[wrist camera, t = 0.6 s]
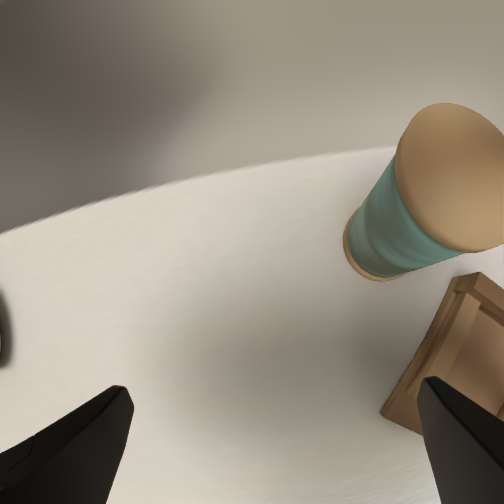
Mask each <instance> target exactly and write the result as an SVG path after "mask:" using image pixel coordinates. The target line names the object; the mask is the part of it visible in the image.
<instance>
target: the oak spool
mask: <svg viewBox="0 0 504 504" xmlns="http://www.w3.org/2000/svg"><path fill="white" fill-rule="evenodd" d="M501 244H504V136H503V134H502V133H501V132H500V131H499V130H498V129H497V128H496V127H495V126H494V125H493V124H492V123H491V122H490V121H489V120H487V119H486V118H484V117H483V116H482V115H480V114H479V113H477V112H475V111H473V110H471V109H469V108H467V107H464V106H461V105H457V104H451V103H439V104H433V105H430V106H428V107H426V108H424V109H422V110H421V111H419V112H418V113H417V114H416V115H415V116H414V117H413V118H412V120H411V122H410V123H409V125H408V127H407V128H406V130H405V132H404V133H403V135H402V137H401V138H400V141H399V143H398V146H397V150H396V154H395V155H394V157H393V159H392V160H391V162H390V163H389V165H388V166H387V168H386V169H385V171H384V173H383V174H382V176H381V177H380V179H379V180H378V182H377V183H376V185H375V186H374V188H373V189H372V191H371V192H370V194H369V195H368V197H367V198H366V200H365V201H364V203H363V204H362V206H361V207H360V208H359V209H357V210H356V211H355V213H354V214H353V215H352V216H351V218H350V219H349V221H348V223H347V225H346V227H345V230H344V235H343V247H344V252H345V255H346V257H347V260H348V261H349V263H350V265H351V266H352V267H353V268H354V269H355V270H356V271H357V272H358V273H359V274H360V275H362V276H364V277H365V278H368V279H370V280H374V281H388V280H392V279H395V278H398V277H400V276H402V275H404V274H405V273H407V272H410V271H413V270H416V269H419V268H423V267H426V266H429V265H432V264H435V263H438V262H441V261H444V260H447V259H450V258H453V257H455V256H458V255H461V254H464V253H477V252H482V251H485V250H488V249H491V248H494V247H497V246H499V245H501Z"/></svg>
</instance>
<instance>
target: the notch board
mask: <svg viewBox="0 0 504 504" xmlns="http://www.w3.org/2000/svg"><path fill="white" fill-rule="evenodd" d="M429 376H437V377H439V378H440V379H442V380H443V381H445V382H446V383H448V384H449V385H451V386H452V387H454V388H455V389H456V390H458V391H459V392H461V393H462V394H464V395H465V396H467V397H468V398H470V399H471V400H473V401H474V402H476V403H477V404H479V405H480V406H481V407H483V408H484V409H486V410H487V411H489V412H490V413H492V414H493V415H495V416H496V417H498V418H499V419H501V420H502V421H504V290H503V289H502V288H501V287H500V286H498V285H497V284H496V283H494V282H493V281H492V280H491V279H489V278H488V277H487V276H485V275H484V274H483V273H481V272H476V273H472V274H467V275H463V276H458V277H454V278H452V281H451V283H450V285H449V288H448V290H447V292H446V295H445V297H444V299H443V301H442V303H441V305H440V308H439V310H438V312H437V314H436V316H435V318H434V320H433V322H432V324H431V326H430V328H429V330H428V332H427V334H426V336H425V338H424V340H423V342H422V343H421V345H420V347H419V349H418V351H417V353H416V355H415V356H414V358H413V360H412V362H411V363H410V365H409V367H408V369H407V370H406V372H405V374H404V375H403V377H402V379H401V380H400V382H399V384H398V385H397V387H396V388H395V390H394V392H393V393H392V395H391V396H390V398H389V399H388V401H387V402H386V404H385V405H384V407H383V408H382V410H381V411H380V414H381V415H382V416H383V417H384V418H386V419H388V420H390V421H392V422H395V423H397V424H399V425H401V426H403V427H405V428H407V429H409V430H411V431H414V432H416V433H418V434H420V435H422V436H423V432H422V427H421V422H420V417H419V412H418V407H417V395H418V392H419V388H420V385H421V381H422V379H423V378H425V377H429Z"/></svg>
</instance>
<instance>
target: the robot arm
mask: <svg viewBox="0 0 504 504" xmlns="http://www.w3.org/2000/svg"><path fill="white" fill-rule="evenodd" d="M417 407H418V412H419V417H420V422H421V427H422V432H423V437H424V442H425V446H426V450H427V453H428V457H429V460H430V463H431V467H432V470H433V474H434V477H435V481H436V485H437V488H438V492H439V496H440V500H441V504H504V421H502V420H501V419H499V418H498V417H496V416H495V415H493V414H492V413H490V412H489V411H487V410H486V409H484V408H483V407H481V406H480V405H479V404H477V403H476V402H474V401H473V400H471V399H470V398H468V397H467V396H465V395H464V394H462V393H461V392H459V391H458V390H456V389H455V388H454V387H452V386H451V385H449V384H448V383H446V382H445V381H443V380H442V379H440V378H439V377H437V376H429V377H425V378H423V379H422V381H421V385H420V388H419V392H418V395H417ZM133 413H134V404H133V402H132V399H131V397H130V395H129V392H128V390H127V388H126V387H124V386H119V385H113V386H111V387H110V388H108V389H106V390H105V391H103V392H102V393H100V394H99V395H97V396H96V397H94V398H92V399H91V400H89V401H88V402H86V403H85V404H83V405H81V406H80V407H78V408H77V409H75V410H74V411H72V412H70V413H69V414H67V415H66V416H64V417H62V418H61V419H59V420H57V421H56V422H54V423H53V424H51V425H49V426H48V427H46V428H44V429H43V430H41V431H40V432H38V433H36V434H35V435H34V436H31V437H30V438H28V439H26V440H25V441H23V442H21V443H19V444H18V445H16V446H14V447H12V448H10V449H8V450H6V451H4V452H2V453H0V504H106V502H107V499H108V496H109V493H110V490H111V487H112V484H113V481H114V478H115V475H116V472H117V470H118V467H119V464H120V461H121V458H122V456H123V453H124V450H125V446H126V442H127V438H128V433H129V429H130V425H131V421H132V417H133Z"/></svg>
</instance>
